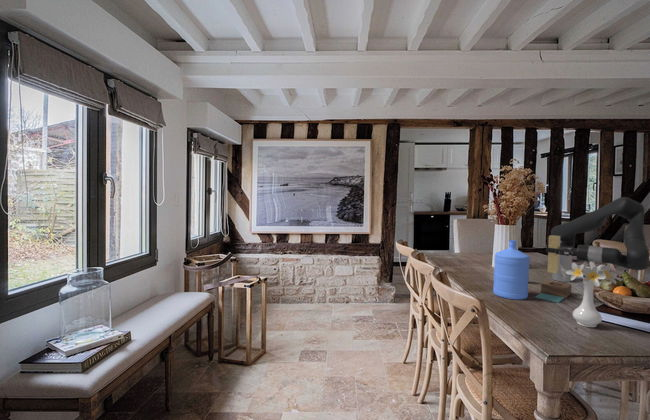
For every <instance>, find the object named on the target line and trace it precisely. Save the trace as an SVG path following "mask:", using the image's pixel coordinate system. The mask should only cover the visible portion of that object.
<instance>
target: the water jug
mask: <svg viewBox="0 0 650 420" xmlns="http://www.w3.org/2000/svg"><path fill="white" fill-rule="evenodd" d="M516 243H517V240H513V239H512V240H511V239H510V240H508V248H506V249H502V250H501V251H497V252H495V253H494V268H493V271H494V272H493V288H492V291H493V292H492V293H493V294H494V295H496V296H498V297H500V298H504V299H509V300H515V301H517V300H519V301H520V300H521V301H522V300H526V299H527V298H528V297H529V281H530V275H529V273H530V263H531V262H530V256H529V255H528V254H526V253H525V252H522V251H521V250H518V249H517V244H516Z"/></svg>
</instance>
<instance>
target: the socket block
mask: <svg viewBox="0 0 650 420" xmlns="http://www.w3.org/2000/svg"><path fill="white" fill-rule="evenodd" d="M540 293H544V294H549V295H554V296H560V297H564V299H567V298H568V297H570V296H571V294H572V283H567V282H561V281H555V280H553V281H552V280H545V281H544V282H541V283H540Z"/></svg>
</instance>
